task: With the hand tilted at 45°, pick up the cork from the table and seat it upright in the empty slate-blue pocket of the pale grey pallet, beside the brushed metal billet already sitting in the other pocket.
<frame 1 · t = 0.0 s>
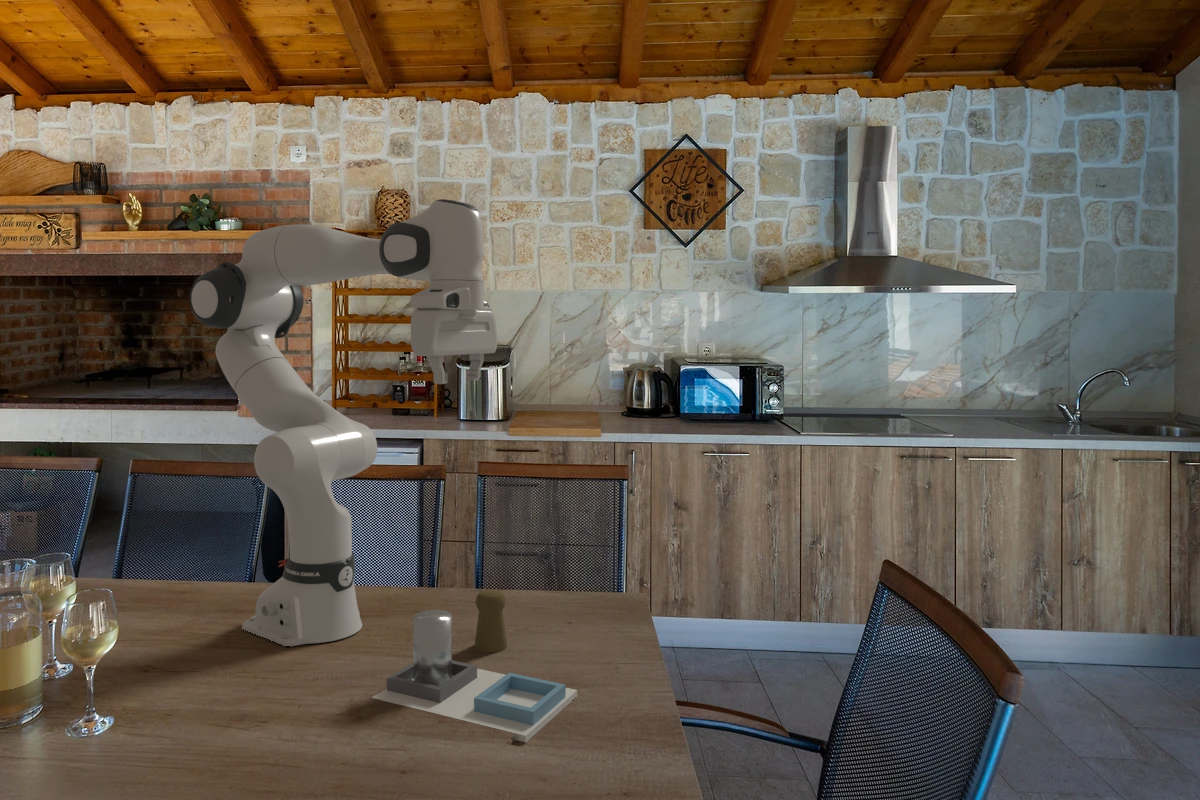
hand: (457, 382, 139), 48 cm above the table, tool pointing down, fingers open, 8 cm apart
pallet board: (475, 699, 128), on the table
cork: (490, 653, 146), on the table
metal billet: (432, 683, 131), point 1 cm above the table, touching pallet board
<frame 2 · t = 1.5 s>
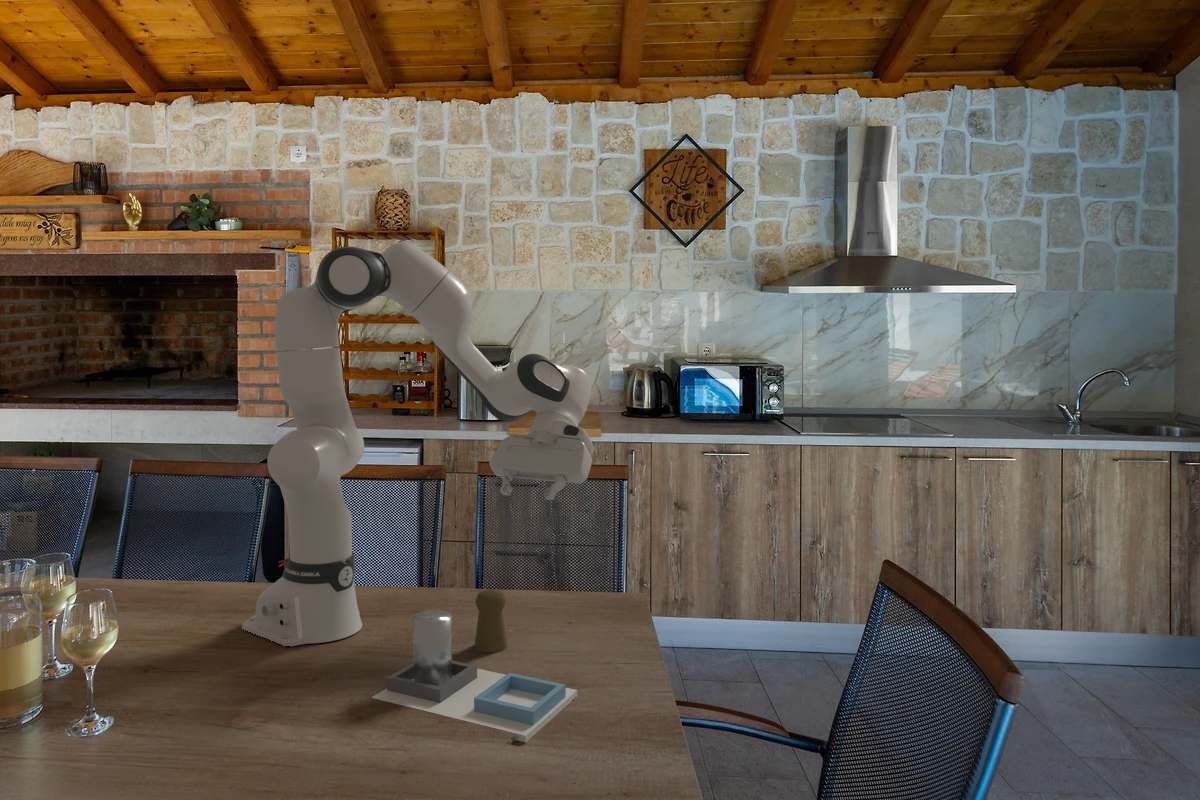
hand: (526, 495, 155), 26 cm above the table, tool tilted 45°, fingers open, 8 cm apart
nothing on the table moved.
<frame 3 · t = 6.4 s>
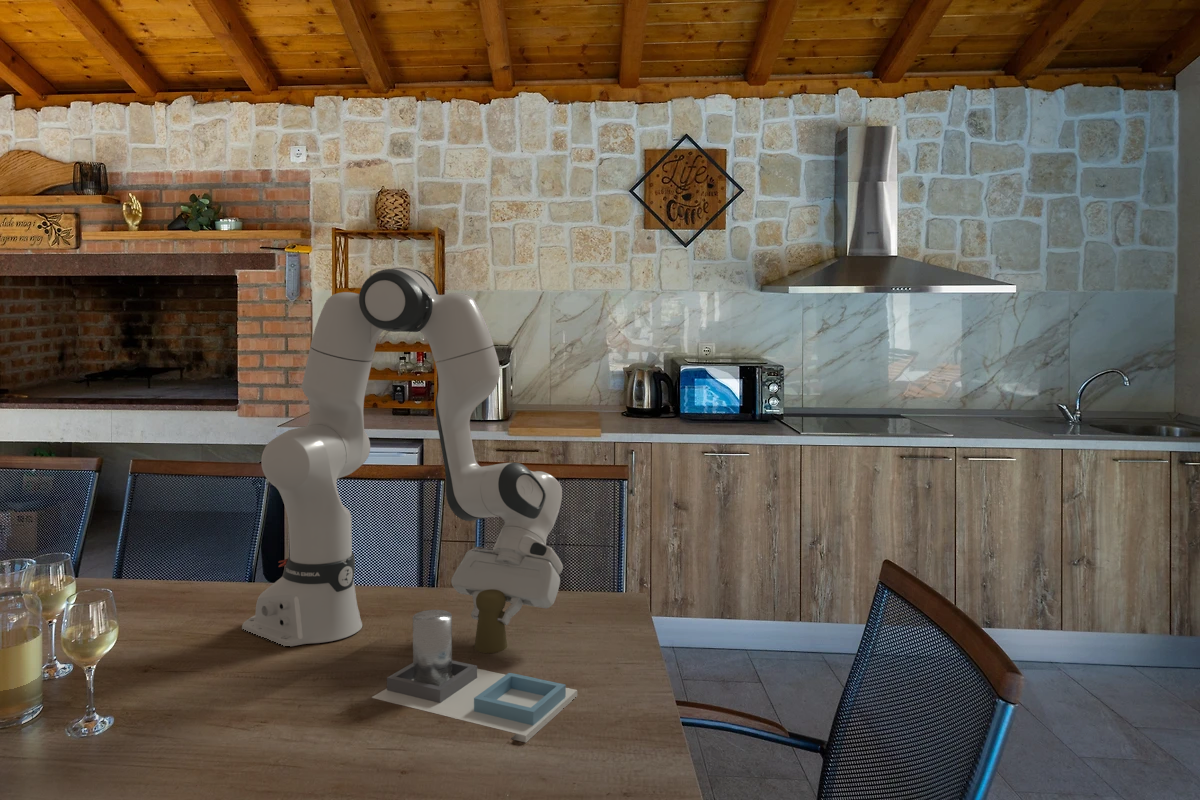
hand: (488, 620, 145), 6 cm above the table, tool tilted 45°, fingers closed on cork, 4 cm apart
cork: (490, 653, 146), on the table, touching gripper
everything else where it was.
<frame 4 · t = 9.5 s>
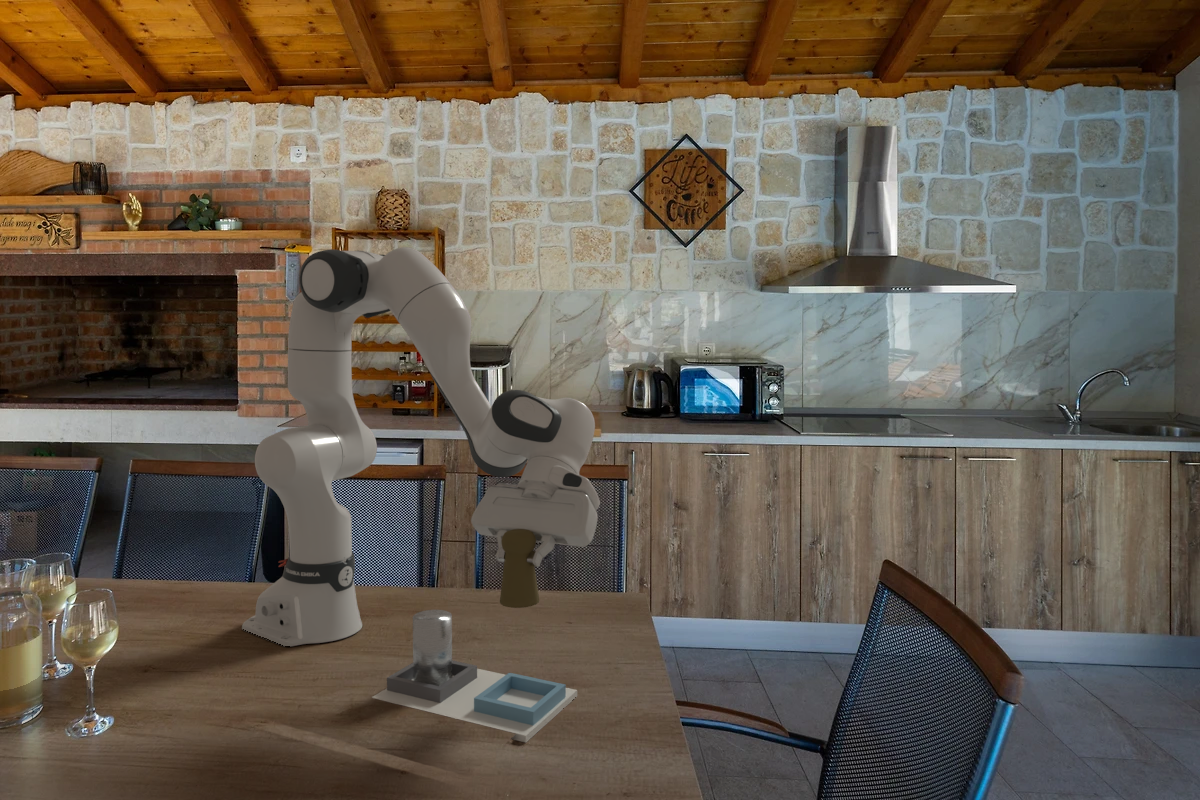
hand: (516, 562, 125), 22 cm above the table, tool tilted 45°, fingers closed on cork, 4 cm apart
cork: (519, 602, 126), point 16 cm above the table, touching gripper
everything else where it was.
when the fingers open (8 cm above the table, at t = 12.9 s): cork stays where it is, resting on pallet board.
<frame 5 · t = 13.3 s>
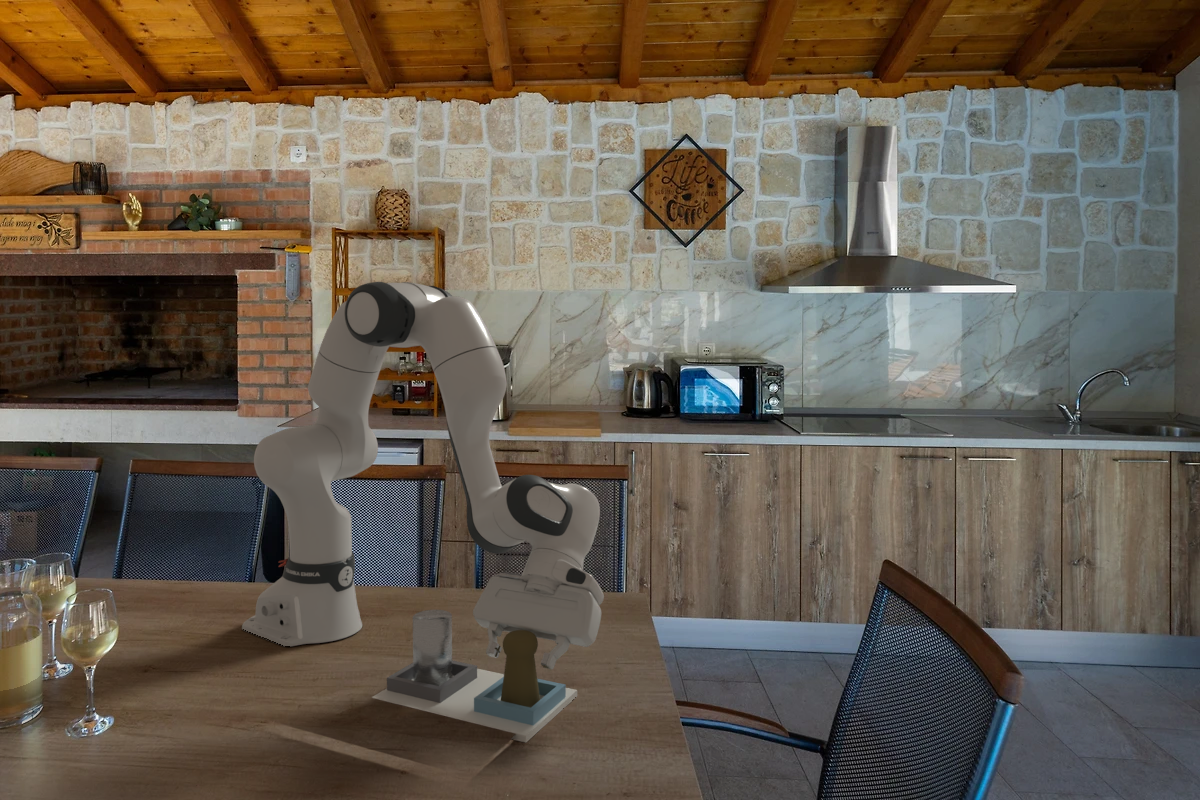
hand: (518, 661, 123), 8 cm above the table, tool tilted 45°, fingers open, 8 cm apart
cork: (520, 705, 124), point 1 cm above the table, touching pallet board
everything else where it was.
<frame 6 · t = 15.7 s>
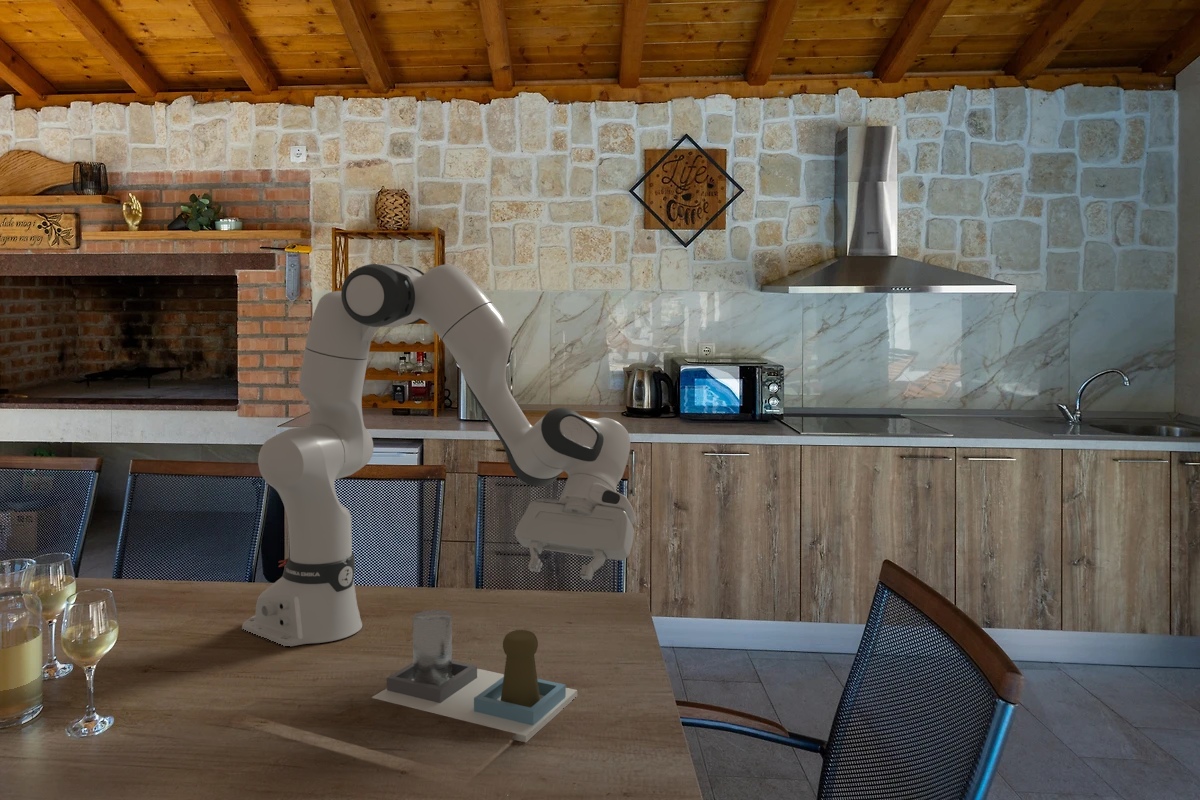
hand: (558, 573, 134), 18 cm above the table, tool tilted 45°, fingers open, 8 cm apart
nothing on the table moved.
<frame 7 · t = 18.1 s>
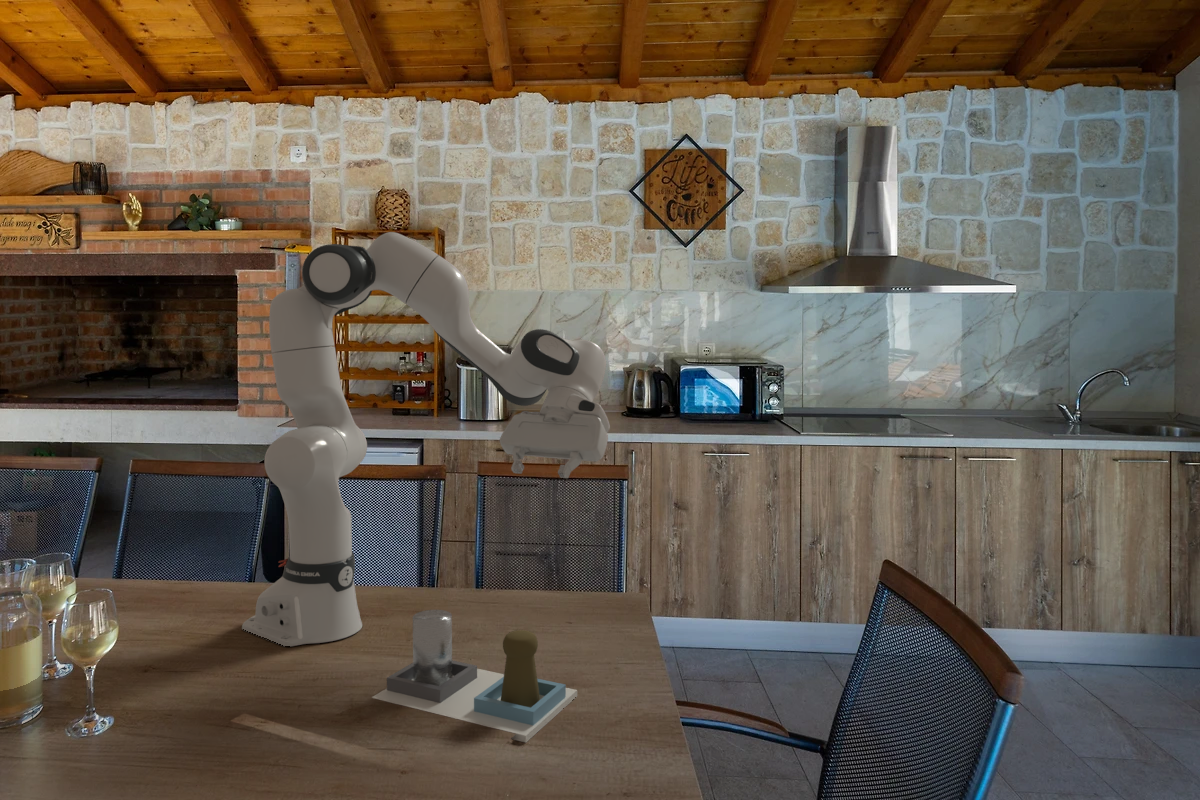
hand: (538, 473, 147), 31 cm above the table, tool tilted 45°, fingers open, 8 cm apart
nothing on the table moved.
at the end: cork 0.0 cm from the target spot on the pallet board, point 0.8 cm above the pallet board's base; cork tilted 0°; the gripper is holding nothing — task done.
